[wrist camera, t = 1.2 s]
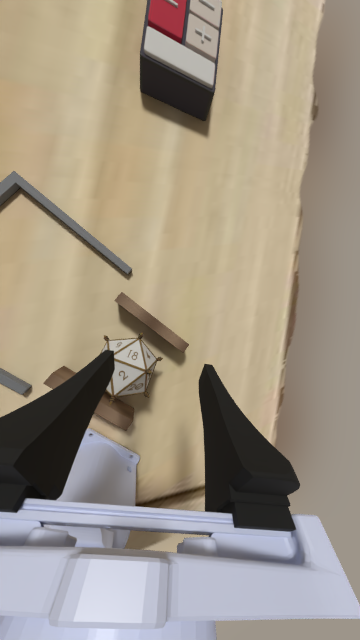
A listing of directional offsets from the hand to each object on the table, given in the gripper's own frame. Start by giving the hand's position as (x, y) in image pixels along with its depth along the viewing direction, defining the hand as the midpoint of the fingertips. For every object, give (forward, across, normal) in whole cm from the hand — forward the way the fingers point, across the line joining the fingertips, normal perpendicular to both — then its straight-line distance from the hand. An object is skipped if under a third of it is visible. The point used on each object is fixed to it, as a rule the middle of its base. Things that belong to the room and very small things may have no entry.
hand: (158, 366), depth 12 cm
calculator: (+35, +5, -32) cm, 48 cm away
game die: (+9, +5, +9) cm, 14 cm away
